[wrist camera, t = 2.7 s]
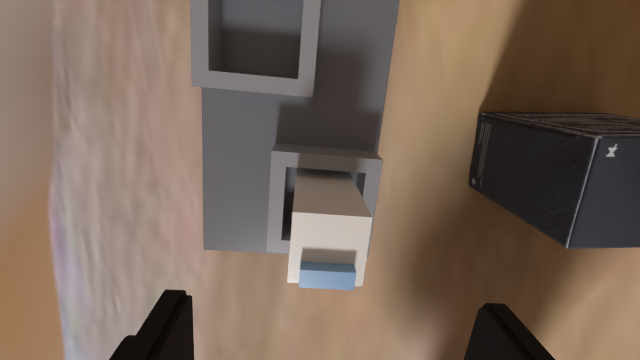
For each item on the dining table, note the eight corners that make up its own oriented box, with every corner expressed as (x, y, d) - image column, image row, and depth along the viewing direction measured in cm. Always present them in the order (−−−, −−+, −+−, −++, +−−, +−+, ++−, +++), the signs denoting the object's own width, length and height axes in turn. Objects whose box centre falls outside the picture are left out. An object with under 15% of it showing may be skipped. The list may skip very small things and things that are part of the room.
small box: (465, 191, 27) (563, 256, 16) (477, 110, 25) (595, 129, 15) (587, 190, 27) (755, 253, 17) (608, 111, 25) (810, 129, 15)
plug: (348, 170, 25) (375, 224, 15) (342, 218, 26) (364, 295, 16) (296, 166, 24) (291, 218, 15) (293, 215, 25) (286, 291, 16)
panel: (402, -39, 21) (421, -64, 18) (360, 253, 28) (368, 279, 24) (204, -64, 21) (182, -96, 17) (206, 244, 27) (191, 270, 23)
